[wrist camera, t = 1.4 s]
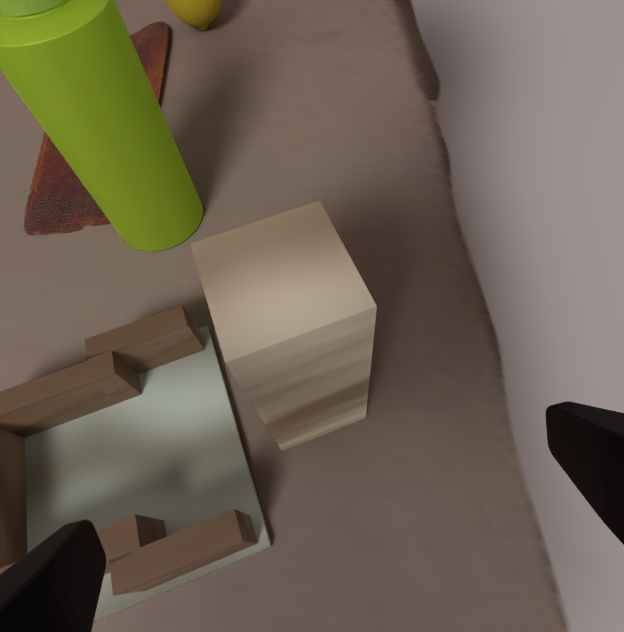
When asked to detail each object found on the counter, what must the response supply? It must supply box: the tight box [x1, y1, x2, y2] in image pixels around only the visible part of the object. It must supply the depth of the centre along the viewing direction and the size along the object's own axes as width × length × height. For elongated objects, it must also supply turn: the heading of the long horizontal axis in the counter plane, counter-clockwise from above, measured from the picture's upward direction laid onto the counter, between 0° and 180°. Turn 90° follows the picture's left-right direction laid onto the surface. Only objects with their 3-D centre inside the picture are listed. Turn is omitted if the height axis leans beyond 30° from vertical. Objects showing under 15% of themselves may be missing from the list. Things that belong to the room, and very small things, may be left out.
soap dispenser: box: [0, 0, 203, 252], centre depth 21 cm, size 6×7×20 cm
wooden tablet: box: [24, 22, 170, 235], centre depth 36 cm, size 27×10×2 cm, turn 5°
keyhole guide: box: [0, 305, 272, 623], centre depth 20 cm, size 12×12×3 cm
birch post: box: [190, 201, 377, 452], centre depth 18 cm, size 4×4×11 cm
